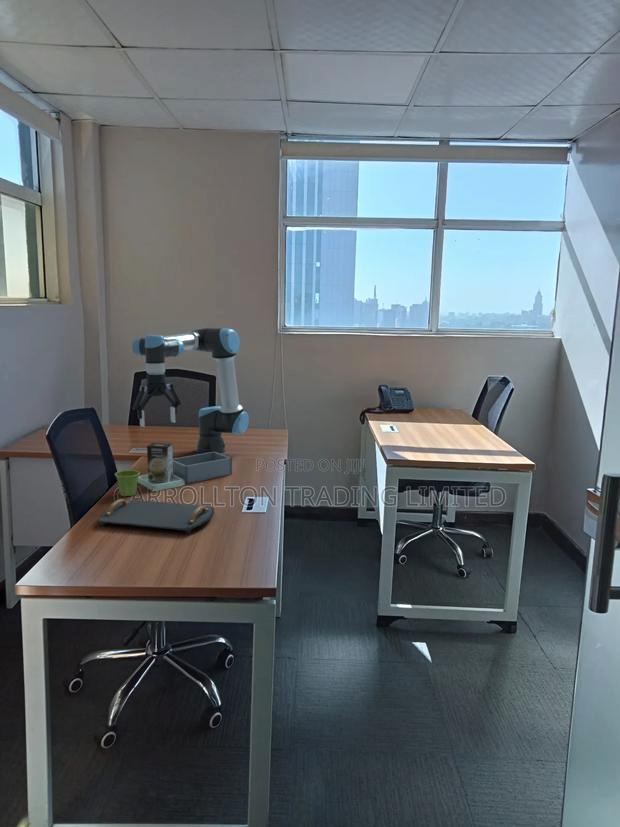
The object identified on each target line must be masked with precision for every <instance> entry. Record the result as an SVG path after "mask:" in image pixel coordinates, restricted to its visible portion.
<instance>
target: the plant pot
mask: <svg viewBox="0 0 620 827" xmlns="http://www.w3.org/2000/svg"><path fill="white" fill-rule="evenodd" d="M140 474H141V472H140V471H138V470H133V469H132V470H131V469H130V470H120V471H117V472H115V473H114V476H115V477H116V480H117V484H118V490H119V495H120V496H122V497H132V496H135V495H136V494H137V490H138V483H137V481H138V477H139V476H140Z"/></svg>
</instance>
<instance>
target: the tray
mask: <svg viewBox="0 0 620 827" xmlns="http://www.w3.org/2000/svg"><path fill="white" fill-rule="evenodd" d="M137 482H138V483H140V484H142V485H144V486H145V487H147V488H148V489H147V488H146V489H147V490H149V489H150V490H149V491H151V490H152V491H151V492H152V493H155V492H154V491H156V492H159V490H161V491H165V490H170V489H174V488H180V487H183V485H186V484H185V480H184V479H182V478H180V477H178V476H176V475H174V474H173V480H172V481H171V482H167V483H150V482H148V473H147V474H142V475H139V477H138V481H137ZM138 483H137V484H138ZM140 484H139V485H140ZM142 485H141V486H142ZM144 486H143V487H144ZM145 487H144V488H145ZM164 489H165V490H164Z"/></svg>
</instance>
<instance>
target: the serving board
mask: <svg viewBox="0 0 620 827" xmlns="http://www.w3.org/2000/svg"><path fill="white" fill-rule="evenodd" d="M214 510H215V508H214V507H213V506H210V505H201V504H199V505H198V504H189V503H188V504H186V503H177V502H176V503H175V502H168V501H167V502H165V501H154V500H153V501H152V500H140V499H131V500H127V499H125V498H119V499H117V500H115V501H113V502H112V503H111V504H110V506H109V507H108V509H106V510H105V511H104V512H103V513H102V514H100V516H99V518H98V519H97V522H98V523H100V526H101V527H106V526H108V524H114V525H122V526H123V525H124V526H134V527H141V528H142V527H144V528H154V529H162V530H163V529H166V530H173V531H174V530H177V531H184V534H185V535H190V534H192V530H193V529H197V527H200V526H201V525H204V524H205V523H207V522H208V521H210V519H212V518H213V516H214V514H215V512H214Z"/></svg>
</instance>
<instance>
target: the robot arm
mask: <svg viewBox="0 0 620 827" xmlns="http://www.w3.org/2000/svg"><path fill="white" fill-rule="evenodd" d="M240 345H241V340H240V337H239V335H238V333H237V332H236V331H235V330H234V329H231V328H226V327H225V328H224V327H223V328H222V327H221V328H220V327H219V328H217V327H214V328H212V327H204V328H199V329H193V330H188V331H185V332H184V333H179V334H172V335H162V334H161V335H160V334H148V335H145V337H138V338H137V337H136V338H135V339H134V340H133V341H132V344H131V350H132V352H133V353H134V354H135V355H136V356H141V357H142V356H143V357H144V356H145V370H146V371H145V372H146V373H147V374H146V386H144V385H140V386H139V388H138V393H137V396H136V398H135V400H134V403H133V405H132V410H135V411H137V419H139V426H140V427H142V428H145V427H146V426H145V425H146V424H145V410H144V408H145V407H146V405H147V404H148V403H149V401H150V399H151V398H153V397H158V396H159V397H160V396H161V397H162V396H163V398H164V399H165V400H166V401H168V403H169V405H171V406H170V407H169V409H170V423H176V415H177V414H178V407H179V406H180V405H181V404H182V402H181V400H180V398H179V397H178V395H177V393H176V391H175V389H174V384H172V383H168V384H167V383H166V381H167V380H166V379H167V378H166V362H165V361H166V358H172V357H174V358H176V357H179V356H181V355H182V354H183V353H184V351H189V352H194V351H195V352H205V353H211V356H212V359H213V360H214V361H215V362H216V363H215V364H216V369H217V378H218V384H219V392H220V400H221V406H220V405H218V406H215V405H214V406H208V407H203V408H200V409H199V411H198V435H199V437H198V440H197V443H196V447H195V450H196V451H195V452H196V453H197V454H203V453H209V452H217V453H220V454H222V453H224V452H226V444H225V441H224V438H223V434H231V435H242V434H243V433H245V431H247V429H248V426H249V422H250V418H249V417H250V415H249V414H248V412H246V411H244V408H243V407H244V406H243V405H242V404H240V400H239V392H238V385H237V383H238V382H237V375H236V367H235V357H236V356H237V353H238V352H239V351H240V347H241V346H240ZM166 390H168V392H169V393H170V395H171V397H170V395H169V394H168V393H167V392H166ZM146 391H147V392H146ZM145 392H146V394H145ZM144 395H145V396H144Z"/></svg>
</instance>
